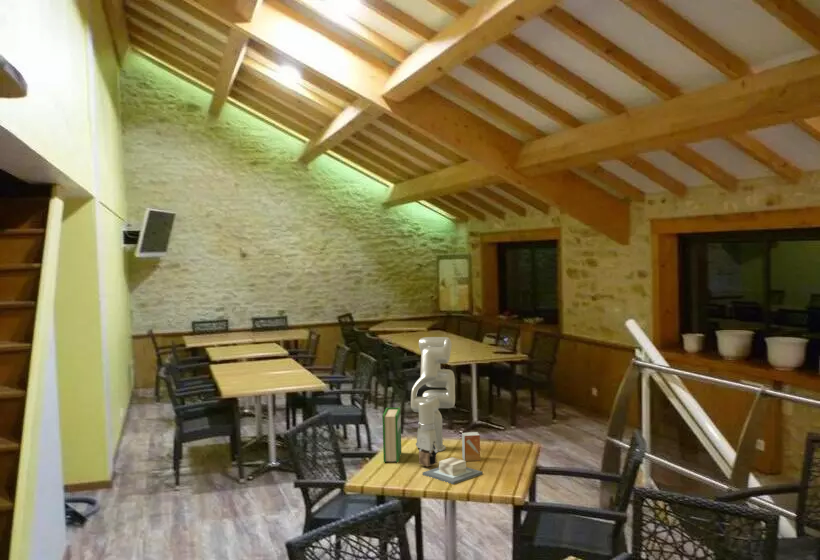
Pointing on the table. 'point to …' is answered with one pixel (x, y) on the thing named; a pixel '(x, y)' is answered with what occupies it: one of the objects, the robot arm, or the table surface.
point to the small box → (471, 446)
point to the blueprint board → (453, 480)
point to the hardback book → (392, 434)
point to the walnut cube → (425, 458)
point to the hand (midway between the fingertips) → (427, 461)
